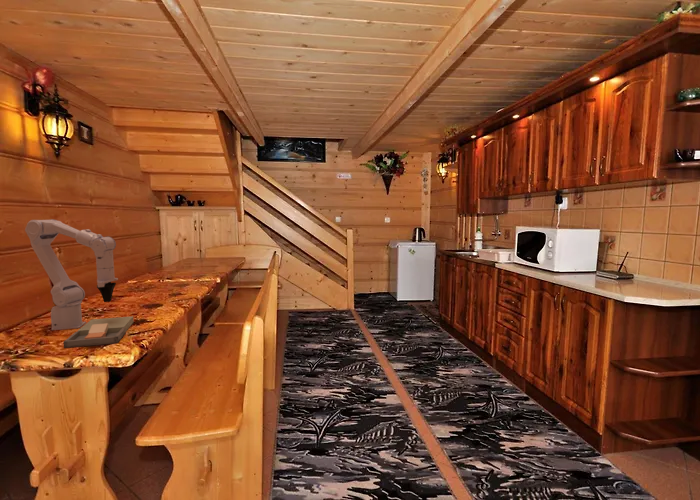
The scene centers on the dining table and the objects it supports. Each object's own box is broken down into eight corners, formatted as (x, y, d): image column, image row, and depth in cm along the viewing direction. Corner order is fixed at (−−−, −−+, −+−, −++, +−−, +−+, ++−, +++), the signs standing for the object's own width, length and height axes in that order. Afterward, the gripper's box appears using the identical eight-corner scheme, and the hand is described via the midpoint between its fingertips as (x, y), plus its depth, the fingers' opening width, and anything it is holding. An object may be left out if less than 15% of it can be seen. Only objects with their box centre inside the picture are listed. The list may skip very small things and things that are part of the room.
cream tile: (89, 337, 135) (88, 333, 134) (93, 328, 139) (92, 324, 138) (105, 336, 137) (104, 332, 136) (108, 327, 141) (107, 323, 140)
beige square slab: (77, 337, 138) (77, 330, 137) (91, 325, 152) (91, 319, 152) (124, 333, 142) (123, 326, 142) (133, 322, 156) (133, 316, 156)
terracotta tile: (84, 343, 130) (84, 337, 130) (89, 338, 134) (89, 333, 134) (101, 341, 131) (101, 336, 131) (105, 337, 136) (105, 332, 136)
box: (63, 348, 127) (63, 341, 127) (76, 337, 137) (75, 331, 137) (117, 343, 132) (117, 336, 132) (125, 333, 142) (125, 327, 142)
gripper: (111, 270, 142) (114, 305, 143) (121, 264, 155) (123, 296, 157) (89, 271, 139) (92, 306, 141) (102, 265, 153) (104, 298, 154)
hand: (107, 301), depth 149 cm, fingers closed
